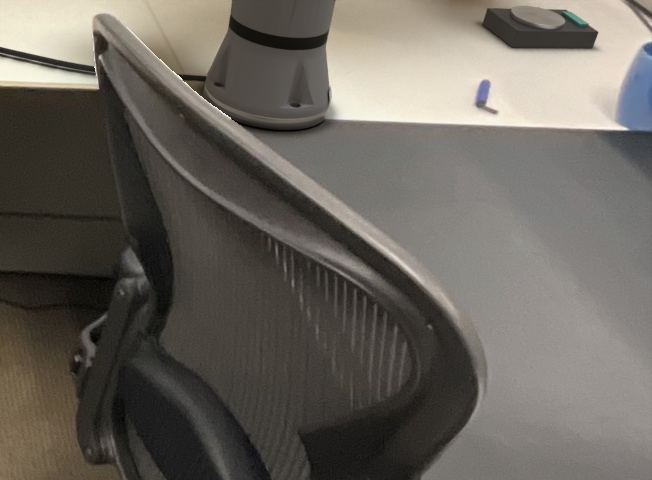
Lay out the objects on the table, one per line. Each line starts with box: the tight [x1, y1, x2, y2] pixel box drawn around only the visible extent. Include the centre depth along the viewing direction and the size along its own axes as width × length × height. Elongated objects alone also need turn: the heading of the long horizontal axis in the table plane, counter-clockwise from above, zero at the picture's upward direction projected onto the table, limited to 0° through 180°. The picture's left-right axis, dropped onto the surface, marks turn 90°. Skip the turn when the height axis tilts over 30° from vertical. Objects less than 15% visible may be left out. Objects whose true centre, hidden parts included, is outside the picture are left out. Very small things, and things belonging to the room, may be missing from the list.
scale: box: [482, 5, 599, 49], centre depth 164 cm, size 14×9×3 cm, turn 108°
